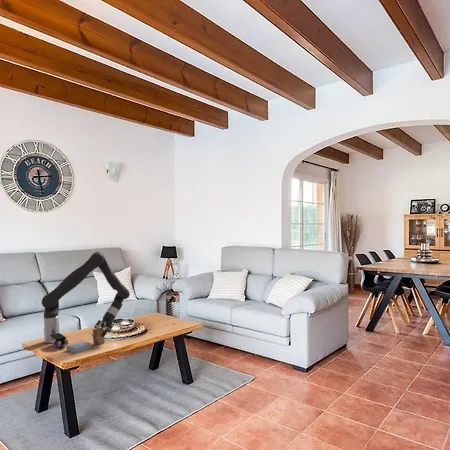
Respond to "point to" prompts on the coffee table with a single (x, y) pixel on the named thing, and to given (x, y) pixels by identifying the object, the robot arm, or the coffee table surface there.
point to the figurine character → (59, 340)
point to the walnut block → (98, 336)
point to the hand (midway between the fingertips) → (98, 335)
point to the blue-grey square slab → (79, 346)
